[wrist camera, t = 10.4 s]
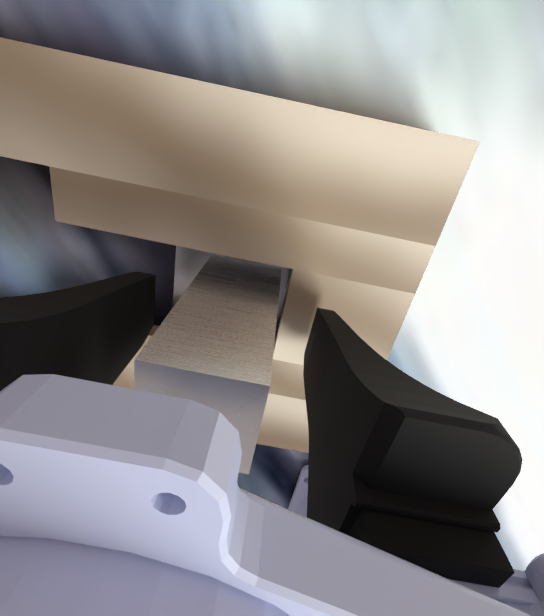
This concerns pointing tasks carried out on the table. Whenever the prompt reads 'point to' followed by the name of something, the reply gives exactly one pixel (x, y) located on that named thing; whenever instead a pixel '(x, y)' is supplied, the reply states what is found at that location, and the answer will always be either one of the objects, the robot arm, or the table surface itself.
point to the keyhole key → (218, 339)
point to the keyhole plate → (241, 191)
